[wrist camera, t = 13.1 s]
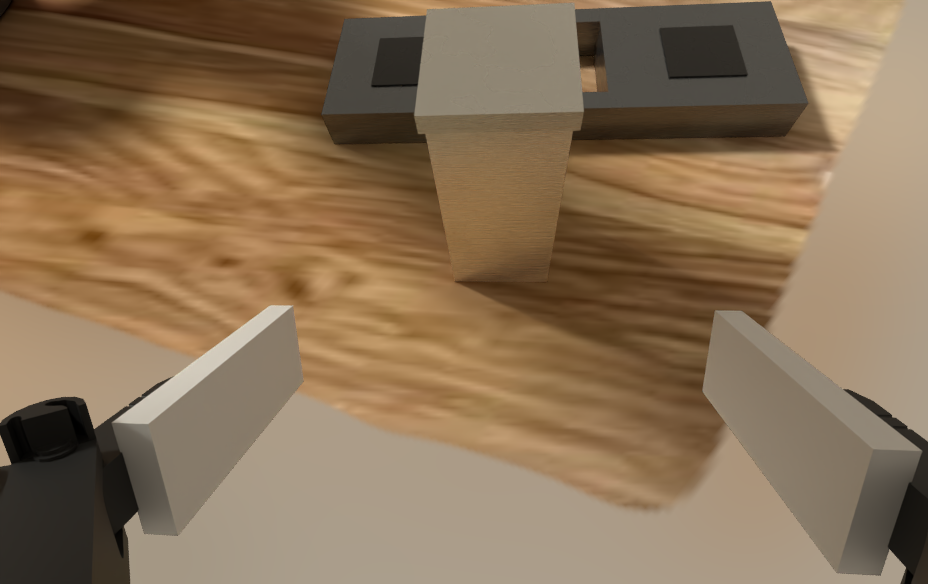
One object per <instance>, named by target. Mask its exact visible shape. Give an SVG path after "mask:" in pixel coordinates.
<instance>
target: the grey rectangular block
mask: <svg viewBox="0 0 928 584" xmlns="http://www.w3.org/2000/svg"><path fill="white" fill-rule="evenodd" d="M583 114H584V107H583V96H582V85H581V73H580V62H579V51H578V40H577V29H576V17H575V6H574V3H559V4H536V5H514V6H492V7H470V8H448V9H427V15H426V23H425V31H424V39H423V48H422V56H421V64H420V72H419V80H418V89H417V97H416V105H415V113H414V118H415V122H416V127H417V131H418V134H425V135H426V140H427V145H428V150H429V155H430V160H431V165H432V170H433V175H434V180H435V185H436V190H437V195H438V200H439V205H440V210H441V215H442V220H443V225H444V230H445V235H446V240H447V245H448V250H449V255H450V260H451V265H452V270H453V275H454V280H455V281H468V282H547V279H548V273H549V267H550V261H551V256H552V250H553V244H554V238H555V232H556V227H557V221H558V215H559V209H560V203H561V198H562V192H563V186H564V180H565V174H566V169H567V163H568V157H569V151H570V145H571V139H572V134H573V131H580V130H581V124H582V119H583Z"/></svg>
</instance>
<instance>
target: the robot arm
mask: <svg viewBox="0 0 928 584" xmlns="http://www.w3.org/2000/svg"><path fill="white" fill-rule="evenodd" d="M10 2H11V0H0V16H1V15H2V14H3V12H4V11H5V10H6V8H7V7H8V5H9V4H10ZM303 381H304V380H303V373H302V366H301V359H300V352H299V345H298V338H297V331H296V324H295V317H294V310H293V306H274V305H270V306H269V307H267V308H266V309H265V310H263V311H262V312H261V313H259V314H258V315H257V316H255V317H254V318H253V319H251V320H250V321H249V322H247V323H246V324H244V325H243V326H242V327H240V328H239V329H238V330H236V331H235V332H234V333H232V334H231V335H230V336H228V337H227V338H225V339H224V340H223V341H221V342H220V343H219V344H217V345H216V346H215V347H213V348H212V349H211V350H209V351H208V352H207V353H205V354H204V355H202V356H201V357H200V358H198V359H197V360H196V361H194V362H193V363H192V364H190V365H189V366H188V367H187V368H185V369H184V370H182V371H181V372H179V373H178V374H177V375H175V376H173V377H171V378H169V379H166V380H164V381H162V382H160V383H158V384H156V385H155V386H153V387H152V388H151V389H149V390H148V391H146V392H145V393H144V394H142V397H138V398H137V399H135V400H134V401H133V402H131V403H130V404H129V407H127V406H126V407H124V408H123V409H122V410H120V411H119V412H118V413H116V414H115V415H113V416H112V417H111V418H109V419H108V420H106V421H105V422H104V423H102V424H101V425H100V426H98V427H97V428H95V429H94V428H93V425H92V422H91V419H90V415H89V413H88V409H87V406H86V403H85V402H84V400H83V399H81V398H77V397H61V398H55V399H50V400H46V401H43V402H39V403H36V404H33V405H30V406H27V407H25V408H23V409H21V410H18V411H16V412H14V413H13V414H11V415H9V416H8V417H6V418H5V419H3V420H2V422H1V423H0V435H1V438H2V440H3V443H4V446H5V448H6V451H7V453H8V456H9V458H10V461H11V465H9V466H2V467H0V584H130V570H129V551H128V538H127V535H126V532H125V529H124V525H125V524H126V523H127V522H128V521H129V520H130V519H131V518H132V517H133V515H135V513H136V512H137V511H138V515H139V518H140V521H141V525H142V528H143V531H144V534H154V535H172V536H173V535H174V536H178V535H179V534H180V533H181V532H182V530H183V529H184V528H185V526H186V525H187V524H188V523H189V522H190V520H191V519H192V518H193V517H194V516H195V514H196V513H197V512H198V511H199V509H200V508H201V507H202V506H203V504H204V503H205V502H206V501H207V500H208V498H209V497H210V496H211V495H212V493H213V492H214V491H215V490H216V489H217V487H218V486H219V485H220V483H221V482H222V481H223V480H224V479H225V477H226V476H227V475H228V474H229V473H230V471H231V470H232V469H233V468H234V466H235V465H236V464H237V462H238V461H239V460H240V459H241V458H242V457H243V455H244V454H245V453H246V451H247V450H248V449H249V448H250V447H251V445H252V444H253V443H254V442H255V441H256V439H257V438H258V437H259V436H260V434H261V433H262V432H263V431H264V429H265V428H266V427H267V426H268V425H269V423H270V422H271V421H272V420H273V418H274V417H275V416H276V415H277V413H278V412H279V411H280V410H281V409H282V407H283V406H284V405H285V404H286V402H287V401H288V400H289V399H290V397H291V396H292V395H293V394H294V393H295V391H296V390H297V389H298V388H299V386H300V385H301V384H302V383H303ZM702 392H703V393H704V394H705V396H706V397H707V399H708V400H709V401H710V403H711V404H712V405H713V407H714V408H715V409H716V411H717V412H718V413H719V415H720V416H721V417H722V419H723V420H724V421H725V423H726V424H727V426H728V427H729V428H730V430H731V431H732V432H733V434H734V435H735V436H736V438H737V439H738V440H739V442H740V443H741V444H742V446H743V447H744V449H745V450H746V451H747V453H748V454H749V455H750V457H751V458H752V459H753V461H755V463H756V465H757V466H758V467H759V469H760V470H761V471H762V473H763V474H764V476H765V477H766V478H767V480H768V481H769V482H770V484H771V485H772V486H773V488H774V489H775V490H776V492H777V493H778V494H779V496H780V497H781V498H782V500H783V501H784V503H785V504H786V505H787V507H788V508H789V509H790V510H791V512H792V513H793V515H794V516H795V517H796V519H797V520H798V521H799V523H800V524H801V525H802V527H803V528H804V530H805V531H806V532H807V533H808V535H809V536H810V538H811V539H812V540H813V542H814V543H815V544H816V546H817V547H818V548H819V550H820V551H821V552H822V554H823V555H824V557H825V558H826V559H827V561H828V562H829V563H830V565H831V566H832V567H833V569H834V570H835V571H836V573H844V574H845V573H846V574H862V575H881V572H882V569H883V567H884V564H885V560H886V557H887V555H888V552H889V549H890V550H891V551H892V552H893V553H894V554H895V556H896V557H897V558H898V559H899V560H900V561H901V562H902V563H903V564H904V566H905V567H906V570H905V573H904V576H903V579H902V581H901V584H928V442H927V441H926V440H925V439H923V438H922V437H921V436H919V435H918V434H917V433H915V432H914V431H913V430H910V429H908V428H907V426H906V425H905V424H903V423H902V422H901V421H899V420H898V419H897V418H892V415H891V414H890V413H889V412H887V411H886V410H884V409H883V408H882V407H880V406H879V405H878V404H876V403H875V402H874V401H872V400H870V399H868V398H865V397H863V396H861V395H859V394H857V393H855V392H853V391H851V390H848V389H847V390H846V389H842V388H841V387H839V386H838V385H837V384H835V383H834V382H833V381H832V380H830V379H829V378H828V377H826V376H825V375H824V374H822V373H821V372H820V371H818V370H817V369H816V368H815V367H813V366H812V365H811V364H810V363H808V362H807V361H806V360H804V359H803V358H801V356H799V355H798V354H796V353H795V352H794V351H793V350H792V349H790V348H789V347H788V346H786V345H785V344H784V343H783V342H781V341H780V340H779V339H777V338H776V337H775V336H774V335H772V334H771V333H770V332H768V331H767V330H766V329H765V328H763V327H762V326H761V325H759V324H758V323H757V322H756V321H754V320H753V319H752V318H750V317H749V316H748V315H747V314H745V313H744V312H743V311H724V310H715V313H714V319H713V326H712V332H711V338H710V345H709V351H708V358H707V364H706V371H705V377H704V383H703V390H702Z"/></svg>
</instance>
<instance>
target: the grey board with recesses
mask: <svg viewBox="0 0 928 584" xmlns="http://www.w3.org/2000/svg"><path fill="white" fill-rule="evenodd" d="M575 17H576V29H577V40H578V51H579V56H589V55H594V63H595V73H596V83H597V92H582V96H583V107H584V114H583V119H582V124H581V130H580V131H573V134H572V139H571V140H589V139H646V138H703V137H761V136H785V135H786V134H787V133H788V131H789V130H790V128H791V127H792V126H793V124H794V123H795V121H796V120H797V119H798V117H799V116H800V114H801V113H802V112H803V110H804V109H805V107H806V106H807V105H808V101H807V98H806V95H805V93H804V90H803V87H802V84H801V82H800V79H799V76H798V74H797V71H796V68H795V65H794V63H793V60H792V57H791V55H790V52H789V49H788V46H787V44H786V41H785V38H784V36H783V33H782V30H781V27H780V25H779V22H778V19H777V17H776V14H775V11H774V8H773V6H772V3H771V1H769V2H744V3H720V4H696V5H672V6H647V7H623V8H599V9H575ZM425 23H426V16H405V17H381V18H356V19H345V20H344V24H343V28H342V32H341V36H340V40H339V44H338V49H337V53H336V57H335V61H334V65H333V69H332V73H331V77H330V81H329V85H328V89H327V94H326V98H325V102H324V106H323V110H322V114H321V115H322V117H323V119H324V122H325V124H326V126H327V128H328V131H329V133H330V135H331V137H332V140H333V142H334V144H360V143H418V142H427V140H426V135H425V134H418V131H417V127H416V122H415V118H414V113H415V105H416V97H417V89H418V80H419V72H420V64H421V56H422V48H423V39H424V31H425Z"/></svg>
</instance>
